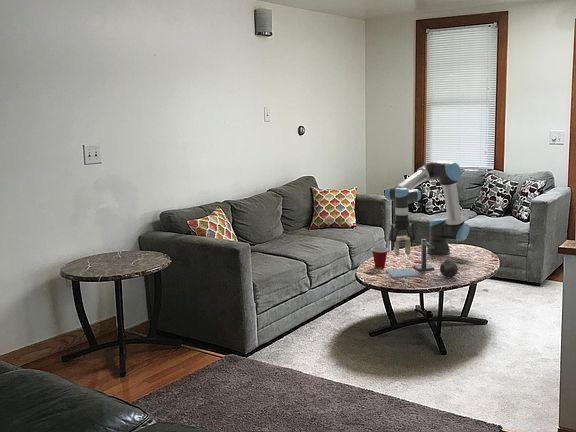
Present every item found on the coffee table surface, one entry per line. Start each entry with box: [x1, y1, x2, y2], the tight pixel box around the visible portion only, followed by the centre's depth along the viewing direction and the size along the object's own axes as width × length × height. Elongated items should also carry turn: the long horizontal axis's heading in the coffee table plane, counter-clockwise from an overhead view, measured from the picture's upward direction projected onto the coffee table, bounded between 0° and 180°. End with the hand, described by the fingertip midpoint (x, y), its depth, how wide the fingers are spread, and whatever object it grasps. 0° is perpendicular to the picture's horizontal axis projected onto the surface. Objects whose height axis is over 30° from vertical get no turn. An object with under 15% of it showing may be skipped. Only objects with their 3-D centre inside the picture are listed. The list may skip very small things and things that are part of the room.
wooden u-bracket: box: [394, 235, 411, 256], centre depth 374 cm, size 8×5×10 cm, turn 95°
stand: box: [413, 238, 435, 272], centre depth 380 cm, size 10×22×18 cm, turn 5°
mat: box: [385, 267, 420, 279], centre depth 377 cm, size 16×16×1 cm
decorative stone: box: [439, 260, 458, 278], centre depth 365 cm, size 10×10×10 cm
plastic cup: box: [371, 246, 389, 269], centre depth 394 cm, size 11×11×12 cm
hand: (402, 252), depth 374 cm, fingers closed on wooden u-bracket, 8 cm apart
